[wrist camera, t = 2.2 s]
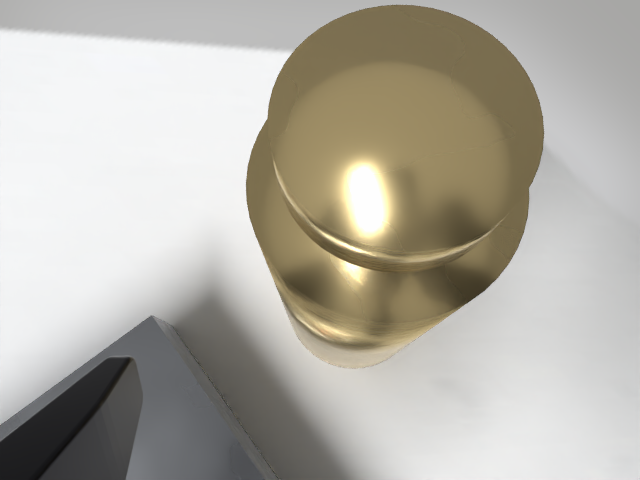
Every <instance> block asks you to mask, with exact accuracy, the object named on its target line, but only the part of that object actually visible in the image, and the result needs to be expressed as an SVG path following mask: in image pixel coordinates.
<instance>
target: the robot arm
mask: <svg viewBox="0 0 640 480" xmlns="http://www.w3.org/2000/svg"><path fill="white" fill-rule="evenodd" d="M142 404H143V390H142V386H141V382H140V377H139V373H138V368H137V364H136V361H135V359H134V358H133V357H132V356H110V357H108V358H106V359H104V360H103V361H102V362H101V363H99V364H98V365H97V366H95V367H94V368H93V369H92V370H90V371H89V372H88V373H87V374H85V375H84V376H83V377H81V378H80V379H79V380H78V381H76V382H75V383H74V384H72V385H71V386H70V387H69V388H67V389H66V390H65V391H63V392H62V393H61V394H60V395H58V396H57V397H56V398H54V399H53V400H52V401H51V402H49V403H48V404H47V405H45V406H44V407H43V408H42V409H40V410H39V411H38V412H36V413H35V414H34V415H33V416H31V417H30V418H29V419H27V420H26V421H25V422H24V423H22V424H21V425H20V426H18V427H17V428H16V429H15V430H13V431H12V432H11V433H9V434H8V435H7V436H6V437H4V438H3V439H2V440H0V480H126V476H127V472H128V467H129V463H130V458H131V454H132V449H133V445H134V440H135V436H136V431H137V427H138V422H139V418H140V413H141V409H142Z"/></svg>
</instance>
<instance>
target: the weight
mask: <svg viewBox="0 0 640 480" xmlns="http://www.w3.org/2000/svg"><path fill="white" fill-rule="evenodd" d="M543 139H544V127H543V116H542V111H541V107H540V102H539V99H538V97H537V94H536V91H535V88H534V86H533V84H532V82H531V80H530V78H529V77H528V75H527V73H526V71H525V70H524V68H523V67H522V66H521V64H520V63H519V62H518V60H517V59H516V57H515V56H514V55H513V54H512V53H511V52H510V51H509V50H508V49H507V48H506V47H505V46H504V45H503V44H502V43H500V41H498V40H497V39H496V38H495V37H494V36H493V35H491V34H490V33H488V32H487V31H485V30H483V29H482V28H480V27H479V26H477V25H475V24H473V23H471V22H470V21H468V20H466V19H463V18H461V17H459V16H456V15H453V14H451V13H448V12H444V11H441V10H437V9H433V8H428V7H421V6H414V5H387V6H378V7H373V8H367V9H363V10H359V11H356V12H353V13H349V14H347V15H344V16H342V17H340V18H337V19H335V20H333V21H331V22H330V23H328V24H326V25H324V26H323V27H321V28H320V29H318V30H317V31H316V32H314V33H313V34H311V35H310V36H309V37H308V38H307V39H305V41H303V42H302V43H301V44H300V45H299V46H298V47H297V48H296V49H295V51H294V52H293V53H292V55H291V56H290V57H289V58H288V60H287V61H286V63H285V64H284V66H283V68H282V69H281V71H280V73H279V75H278V77H277V80H276V82H275V85H274V87H273V90H272V94H271V98H270V102H269V108H268V119H267V120H266V122H265V124H264V125H263V127H262V129H261V131H260V132H259V134H258V136H257V139H256V141H255V144H254V146H253V149H252V152H251V156H250V160H249V164H248V170H247V179H246V196H247V205H248V211H249V216H250V220H251V223H252V226H253V229H254V232H255V235H256V238H257V240H258V242H259V245H260V247H261V250H262V252H263V255H264V257H265V260H266V262H267V265H268V267H269V270H270V272H271V275H272V277H273V280H274V282H275V285H276V287H277V290H278V292H279V295H280V297H281V300H282V302H283V304H284V307H285V309H286V312H287V314H288V317H289V319H290V322H291V324H292V327H293V329H294V331H295V333H296V335H297V337H298V338H299V340H300V341H301V343H302V344H303V345H304V346H305V347H306V348H307V349H308V350H309V351H310V352H311V353H312V354H313V355H315V356H316V357H318V358H319V359H321V360H323V361H325V362H327V363H329V364H332V365H335V366H339V367H344V368H365V367H369V366H373V365H376V364H379V363H381V362H383V361H385V360H387V359H389V358H390V357H391V356H393V355H394V354H396V353H397V352H399V351H400V350H401V349H403V348H404V347H406V346H407V345H408V344H410V343H411V342H413V341H414V340H416V339H417V338H418V337H420V336H421V335H423V334H424V333H425V332H427V331H428V330H430V329H431V328H433V327H434V326H435V325H437V324H438V323H440V322H441V321H442V320H444V319H445V318H447V317H448V316H449V315H451V314H452V313H454V312H455V311H457V310H458V309H459V308H461V307H462V306H464V305H465V304H466V303H468V302H469V301H471V300H472V299H474V298H475V297H476V296H478V295H479V294H481V293H482V292H483V291H485V290H486V289H487V288H488V287H489V286H490V285H491V284H492V283H493V282H494V281H495V280H496V279H497V278H498V277H499V276H500V274H501V273H502V272H503V270H504V269H505V268H506V267H507V265H508V264H509V262H510V261H511V259H512V257H513V255H514V254H515V252H516V250H517V248H518V246H519V243H520V241H521V238H522V235H523V233H524V229H525V225H526V221H527V216H528V207H529V187H530V185H531V183H532V182H533V179H534V177H535V174H536V172H537V169H538V167H539V164H540V159H541V155H542V150H543Z"/></svg>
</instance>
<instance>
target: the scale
mask: <svg viewBox="0 0 640 480" xmlns="http://www.w3.org/2000/svg"><path fill="white" fill-rule="evenodd" d="M110 356H132V357H133V358H134V359H135V361H136V364H137V368H138V373H139V377H140V382H141V386H142V390H143V404H142V409H141V413H140V418H139V422H138V427H137V431H136V436H135V440H134V445H133V449H132V454H131V458H130V463H129V467H128V472H127V476H126V480H279V479H278V478H277V476H276V475H275V473H274V472H273V471H272V469H271V468H270V466H269V465H268V463H267V462H266V461H265V459H264V458H263V456H262V455H261V453H260V452H259V450H258V449H257V448H256V446H255V445H254V443H253V442H252V440H251V439H250V438H249V436H248V435H247V433H246V432H245V430H244V429H243V427H242V426H241V425H240V423H239V422H238V420H237V419H236V417H235V416H234V414H233V413H232V412H231V410H230V409H229V407H228V406H227V404H226V403H225V402H224V400H223V399H222V397H221V396H220V394H219V393H218V391H217V390H216V389H215V387H214V386H213V384H212V383H211V381H210V380H209V379H208V377H207V376H206V374H205V373H204V371H203V370H202V368H201V367H200V366H199V364H198V363H197V361H196V360H195V358H194V357H193V355H192V354H191V353H190V351H189V350H188V348H187V347H186V345H185V344H184V343H183V341H182V340H181V338H180V337H179V335H178V334H177V332H176V331H175V330H174V328H173V327H172V326H171V325H169V324H167V323H165V322H164V321H162V320H160V319H158V318H156V317H154V316H150V317H149V318H147V319H146V320H145V321H143V322H142V323H141V324H139V325H138V326H136V327H135V328H134V329H132V330H131V331H130V332H128V333H127V334H125V335H124V336H123V337H121V338H120V339H119V340H117V341H116V342H114V343H113V344H112V345H110V346H109V347H108V348H106V349H105V350H103V351H102V352H101V353H99V354H98V355H97V356H95V357H94V358H92V359H91V360H90V361H88V362H87V363H85V364H84V365H83V366H81V367H80V368H79V369H77V370H76V371H74V372H73V373H72V374H70V375H69V376H68V377H66V378H65V379H63V380H62V381H61V382H59V383H58V384H57V385H55V386H54V387H52V388H51V389H50V390H48V391H47V392H46V393H44V394H43V395H41V396H40V397H39V398H37V399H36V400H35V401H33V402H32V403H30V404H29V405H28V406H26V407H25V408H24V409H22V410H21V411H19V412H18V413H17V414H15V415H14V416H13V417H11V418H10V419H8V420H7V421H6V422H4V423H3V424H2V425H0V440H2V439H3V438H4V437H6V436H7V435H8V434H9V433H11V432H12V431H13V430H15V429H16V428H17V427H18V426H20V425H21V424H22V423H24V422H25V421H26V420H27V419H29V418H30V417H31V416H33V415H34V414H35V413H36V412H38V411H39V410H40V409H42V408H43V407H44V406H45V405H47V404H48V403H49V402H51V401H52V400H53V399H54V398H56V397H57V396H58V395H60V394H61V393H62V392H63V391H65V390H66V389H67V388H69V387H70V386H71V385H72V384H74V383H75V382H76V381H78V380H79V379H80V378H81V377H83V376H84V375H85V374H87V373H88V372H89V371H90V370H92V369H93V368H94V367H95V366H97V365H98V364H99V363H101V362H102V361H103V360H104V359H106V358H108V357H110Z"/></svg>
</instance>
